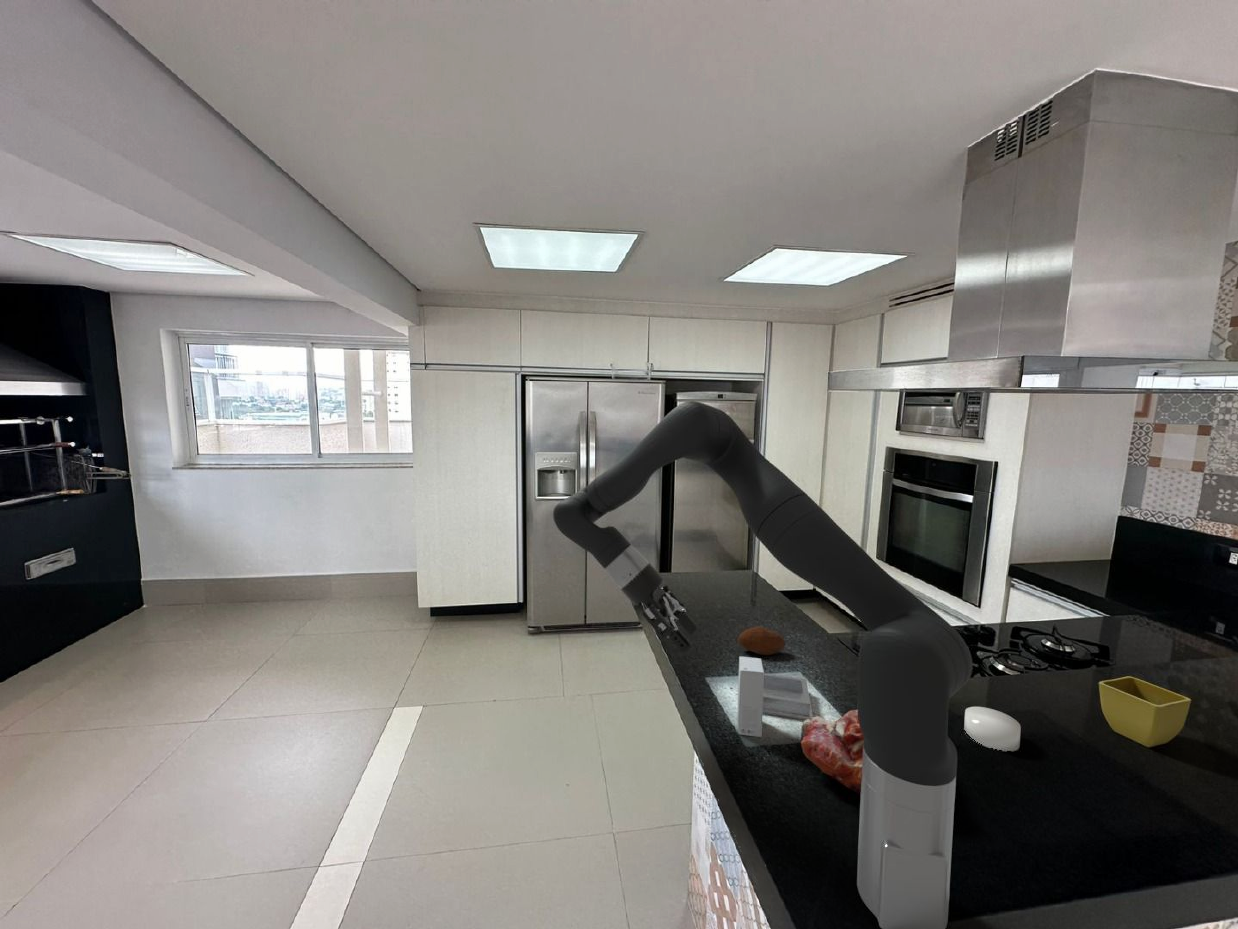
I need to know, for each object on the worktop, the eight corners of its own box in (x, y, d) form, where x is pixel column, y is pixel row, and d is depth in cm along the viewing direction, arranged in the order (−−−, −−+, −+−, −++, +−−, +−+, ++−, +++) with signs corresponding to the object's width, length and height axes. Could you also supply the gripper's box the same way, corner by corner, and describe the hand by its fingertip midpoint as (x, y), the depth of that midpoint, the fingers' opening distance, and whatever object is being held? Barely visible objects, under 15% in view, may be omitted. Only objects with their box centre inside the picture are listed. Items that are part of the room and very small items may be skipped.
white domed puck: (1028, 756, 84) (1030, 736, 84) (974, 747, 87) (975, 727, 86) (1006, 729, 92) (1007, 710, 92) (957, 722, 94) (958, 703, 94)
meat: (787, 721, 94) (789, 670, 93) (910, 736, 90) (912, 683, 89) (806, 802, 73) (808, 737, 73) (966, 826, 69) (970, 757, 69)
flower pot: (1154, 757, 84) (1159, 706, 84) (1093, 727, 93) (1097, 681, 92) (1188, 749, 87) (1193, 699, 86) (1126, 721, 95) (1129, 675, 95)
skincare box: (762, 738, 88) (764, 673, 87) (737, 735, 89) (739, 670, 88) (759, 719, 94) (761, 657, 93) (736, 716, 95) (738, 655, 94)
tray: (812, 721, 94) (813, 705, 93) (742, 709, 97) (742, 694, 97) (807, 692, 104) (808, 678, 104) (744, 682, 108) (744, 669, 108)
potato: (788, 659, 119) (789, 633, 119) (740, 657, 120) (741, 631, 120) (781, 648, 125) (782, 623, 125) (735, 647, 126) (736, 622, 126)
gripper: (638, 572, 88) (701, 643, 86) (655, 553, 102) (710, 614, 100) (609, 598, 90) (670, 668, 88) (629, 576, 104) (683, 637, 101)
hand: (691, 639), depth 94 cm, fingers open, 8 cm apart
